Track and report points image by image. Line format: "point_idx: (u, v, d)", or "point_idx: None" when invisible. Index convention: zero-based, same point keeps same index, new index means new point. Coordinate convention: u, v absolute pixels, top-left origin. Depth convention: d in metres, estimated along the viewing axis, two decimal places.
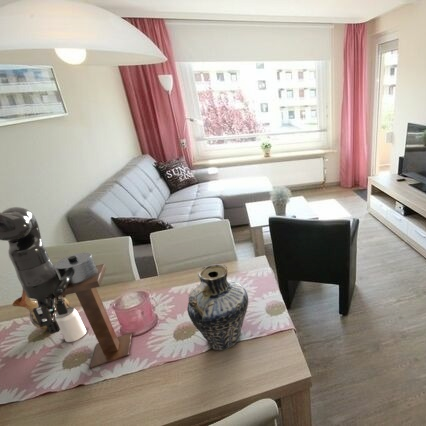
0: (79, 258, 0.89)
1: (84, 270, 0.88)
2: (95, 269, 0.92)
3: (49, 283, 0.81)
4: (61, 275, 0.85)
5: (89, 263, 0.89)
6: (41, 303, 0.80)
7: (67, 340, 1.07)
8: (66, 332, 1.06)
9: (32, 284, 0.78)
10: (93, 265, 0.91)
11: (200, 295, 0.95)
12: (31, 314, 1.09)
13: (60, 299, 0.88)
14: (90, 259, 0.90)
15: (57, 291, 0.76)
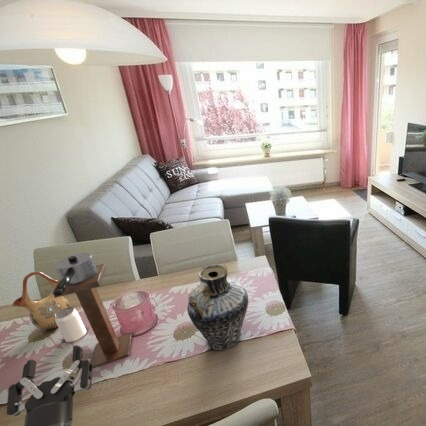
0: (79, 258, 0.89)
1: (84, 270, 0.88)
2: (95, 269, 0.92)
3: (56, 418, 0.60)
4: (61, 275, 0.85)
5: (89, 263, 0.89)
6: (74, 391, 0.65)
7: (67, 340, 1.07)
8: (66, 332, 1.06)
9: (70, 423, 0.62)
10: (93, 265, 0.91)
11: (200, 295, 0.95)
12: (31, 314, 1.09)
13: (34, 384, 0.63)
14: (90, 259, 0.90)
15: (57, 291, 0.76)
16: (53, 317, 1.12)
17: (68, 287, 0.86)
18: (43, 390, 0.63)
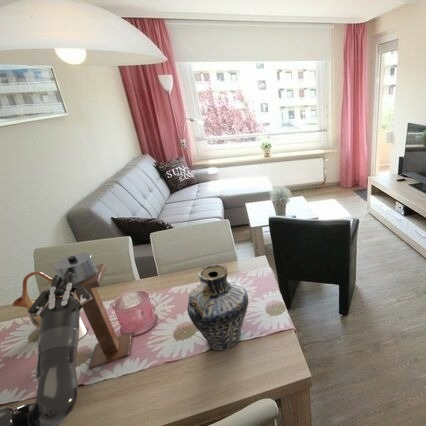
0: (78, 258, 0.89)
1: (84, 270, 0.88)
2: (95, 269, 0.92)
3: (66, 322, 0.72)
4: (61, 275, 0.85)
5: (89, 263, 0.89)
6: (81, 304, 0.78)
7: None
8: None
9: (78, 330, 0.74)
10: (93, 265, 0.91)
11: (200, 295, 0.95)
12: None
13: (55, 296, 0.76)
14: (90, 259, 0.90)
15: (58, 291, 0.76)
16: None
17: None
18: (57, 304, 0.75)
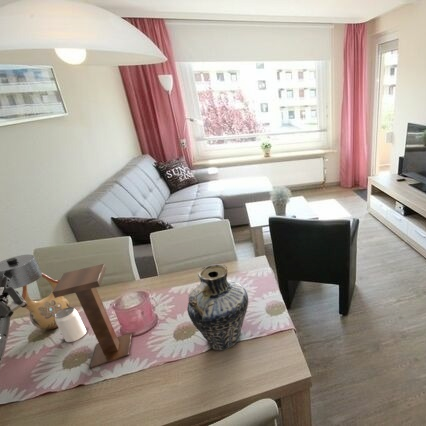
0: (19, 260, 0.83)
1: (24, 273, 0.82)
2: (38, 272, 0.86)
3: None
4: None
5: (31, 266, 0.83)
6: (12, 311, 0.71)
7: (67, 340, 1.07)
8: (66, 332, 1.06)
9: (4, 339, 0.68)
10: (36, 268, 0.85)
11: (200, 295, 0.95)
12: (31, 314, 1.09)
13: None
14: (32, 261, 0.84)
15: None
16: (53, 317, 1.12)
17: (68, 287, 0.86)
18: None
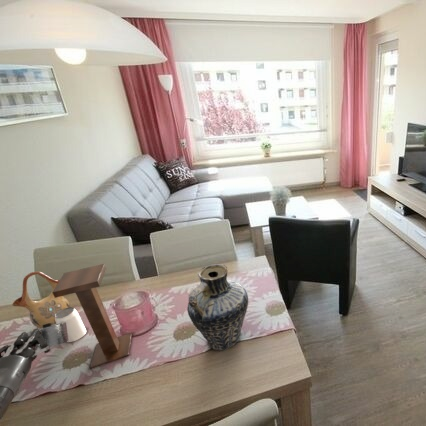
0: (53, 325, 0.92)
1: (54, 334, 0.89)
2: (66, 336, 0.93)
3: (13, 365, 0.70)
4: None
5: (61, 328, 0.92)
6: (36, 354, 0.77)
7: None
8: None
9: (23, 376, 0.71)
10: (65, 331, 0.93)
11: (200, 295, 0.95)
12: (31, 314, 1.09)
13: (14, 347, 0.77)
14: (63, 324, 0.93)
15: (18, 341, 0.77)
16: (53, 317, 1.12)
17: (68, 287, 0.86)
18: (12, 354, 0.75)
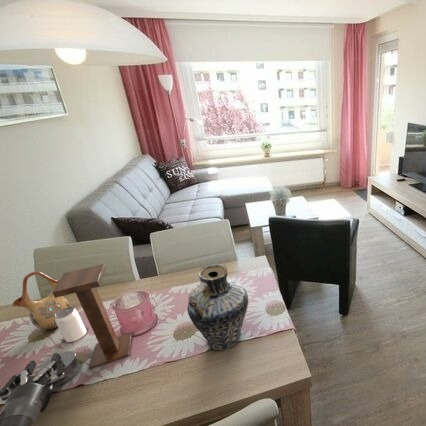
0: (63, 360, 0.94)
1: (68, 373, 0.92)
2: (79, 368, 0.96)
3: (31, 393, 0.74)
4: None
5: (73, 365, 0.94)
6: (51, 382, 0.80)
7: (67, 340, 1.07)
8: (66, 332, 1.06)
9: (40, 404, 0.75)
10: (77, 365, 0.95)
11: (200, 295, 0.95)
12: (31, 314, 1.09)
13: (27, 375, 0.81)
14: (74, 360, 0.94)
15: None
16: (53, 317, 1.12)
17: (68, 287, 0.86)
18: (29, 381, 0.79)
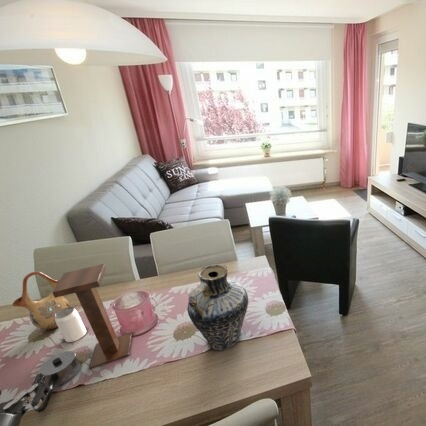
0: (63, 360, 0.94)
1: (68, 373, 0.92)
2: (79, 368, 0.96)
3: None
4: (46, 380, 0.90)
5: (73, 365, 0.94)
6: (24, 411, 0.68)
7: (67, 340, 1.07)
8: (66, 332, 1.06)
9: None
10: (77, 365, 0.95)
11: (200, 295, 0.95)
12: (31, 314, 1.09)
13: None
14: (74, 360, 0.94)
15: None
16: (53, 317, 1.12)
17: (68, 287, 0.86)
18: None
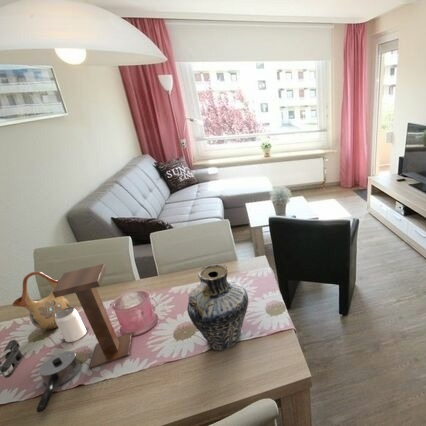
0: (63, 360, 0.94)
1: (68, 373, 0.92)
2: (79, 368, 0.96)
3: None
4: (46, 380, 0.90)
5: (73, 365, 0.94)
6: None
7: (67, 340, 1.07)
8: (66, 332, 1.06)
9: None
10: (77, 365, 0.95)
11: (200, 295, 0.95)
12: (31, 314, 1.09)
13: None
14: (74, 360, 0.94)
15: (40, 408, 0.80)
16: (53, 317, 1.12)
17: (68, 287, 0.86)
18: None
